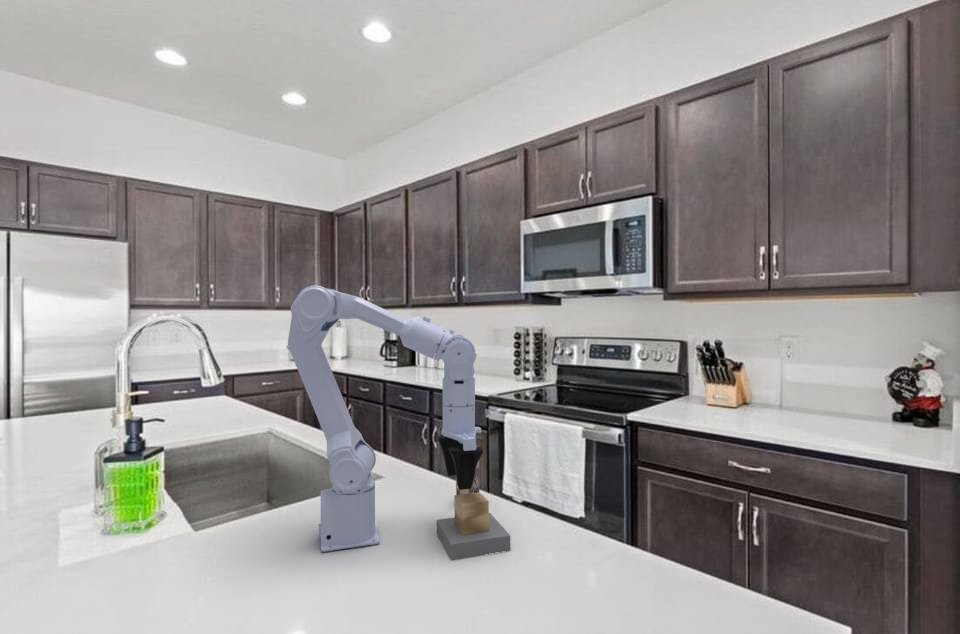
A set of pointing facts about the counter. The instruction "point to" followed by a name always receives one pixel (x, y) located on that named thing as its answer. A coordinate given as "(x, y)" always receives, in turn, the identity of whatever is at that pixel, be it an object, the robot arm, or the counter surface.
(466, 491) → the beer can
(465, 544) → the charcoal base
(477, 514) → the oak block
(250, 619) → the counter surface
